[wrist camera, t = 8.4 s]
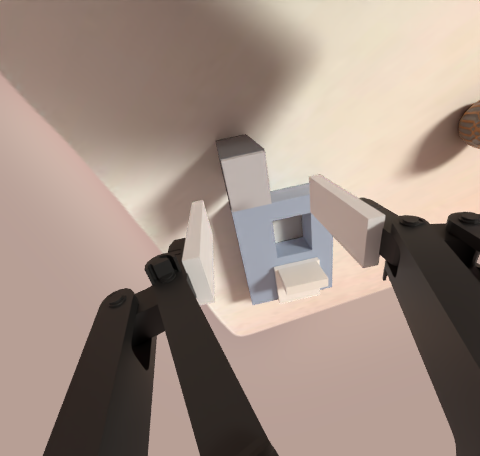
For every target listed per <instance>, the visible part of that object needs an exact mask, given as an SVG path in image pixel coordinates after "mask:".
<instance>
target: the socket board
mask: <svg viewBox="0 0 480 456" xmlns="http://www.w3.org/2000/svg"><path fill="white" fill-rule="evenodd" d="M270 194H271V202H272V204H268V205H263V206H259V207H254V208H250V209H245V210H241V211H236V212H232V216H233V220H234V225H235V229H236V233H237V238H238V242H239V247H240V251H241V256H242V260H243V264H244V269H245V273H246V278H247V282H248V287H249V291H250V295H251V300H252V304H253V305H255V304H260V303H264V302H268V301H273V300H277V299H278V293H277V286H276V279H275V272H274V267H276V266H280V265H285V264H289V263H293V262H298V261H302V260H307V259H311V258H315V257H318V259H319V260H320V267H321V268H322V270H323V271H324V273H325V274H326V276H327V277H328V286H327V287H323V288H320V290H321V289H325V288H330V287H332V259H333V236H332V235H331V234H330V232H329V231H328V230H327V229H326V228H325V227H324V226H323V225H322V224H321V223H320V222H319V221H318V220H317V219H316V218H315V217H314V215H313V214H312V213H311V212H310V189H309V183H307V184H302V185H298V186H293V187H289V188H284V189H280V190H275V191H271V192H270ZM231 211H232V210H231ZM298 215H302V232H303V237H300V238H296V239H291V240H287V241H282V242H278V243H275V237H274V229H273V221H275V220H280V219H284V218H289V217H293V216H298Z"/></svg>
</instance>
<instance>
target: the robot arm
mask: <svg viewBox="0 0 480 456" xmlns="http://www.w3.org/2000/svg"><path fill="white" fill-rule="evenodd" d="M309 189H310V212H311V213H312V214H313V215H314V217H315V218H316V219H317V220H318V221H319V222H320V223H321V224H322V225H323V226H324V227H325V228H326V229H327V230H328V231H329V232H330V234H331V235H332V236H333V237H334V238H335V239H336V240H337V241H338V242H339V243H340V244H341V245H342V246H343V247H344V248H345V249H346V251H347V252H348V253H349V254H350V255H351V256H352V257H353V258H354V259H355V260H356V261H357V262H358V263H359V264H360V265H361V266H362V268H366V267H371V266H375V265H378V263H379V256H380V255H381V256H382V257H383V258H384V259H385V260H386V261H385V267H384V273H383V280H386V276H387V275H388V277H389V281H390V282H391V284H392V286H393V289H394V291H395V293H396V296H397V298H398V301H399V303H400V306H401V308H402V311H403V313H404V315H405V318H406V320H407V323H408V325H409V328H410V330H411V333H412V335H413V338H414V340H415V342H416V345H417V347H418V350H419V352H420V355H421V357H422V359H423V362H424V364H425V367H426V369H427V372H428V374H429V376H430V379H431V381H432V384H433V386H434V389H435V391H436V394H437V396H438V398H439V401H440V403H441V405H442V408H443V410H444V413H445V415H446V418H447V420H448V423H449V425H450V428H451V430H452V433H453V435H454V439H455V443H456V456H480V265H479V264H478V263H476V262H477V260H478V257H479V255H480V214H475V213H472V212H459V213H453V214H451V215H449V216H448V220H447V223H446V224H429V222H427V221H426V220H425V219H423V218H420V217H416V216H408V215H404V216H398V215H396V214H395V213H393V212H391V211H389V210H388V209H386V208H383V206H381V205H378V203H376V202H374V201H372V200H370V199H366V198H357V197H356V196H354V195H353V194H351V193H349V192H348V191H346V190H345V189H343V188H341V187H340V186H338V185H337V184H335V183H333V182H332V181H330V180H329V179H327V178H325V177H324V176H322V175H321V174H318V175H313V176H309ZM145 271H146V273H147V275H148V277H149V279H150V281H151V283H152V286H151V287H149V288H147V289H145V290H143V291H141V292H138V293H136V294H134V292H133V291H132V290H131V289H127V288H125V289H120V290H118V291H115V292H113V293H112V294H110V295H109V296H107V297H106V298H105V299H104V300H103V302H102V303H101V305H100V307H99V310H98V312H97V315H96V318H95V320H94V323H93V326H92V328H91V331H90V333H89V336H88V338H87V341H86V344H85V346H84V349H83V352H82V354H81V357H80V359H79V362H78V365H77V367H76V370H75V373H74V375H73V378H72V381H71V383H70V386H69V389H68V391H67V393H66V396H65V399H64V401H63V404H62V407H61V409H60V412H59V414H58V417H57V420H56V422H55V425H54V428H53V430H52V433H51V436H50V438H49V441H48V443H47V446H46V448H45V451H44V454H43V456H148V444H149V431H150V417H151V405H152V392H153V378H154V366H155V353H156V339H157V335H158V334H160V333H162V332H164V331H165V332H166V336H167V339H168V342H169V346H170V350H171V353H172V357H173V360H174V364H175V368H176V371H177V375H178V378H179V382H180V385H181V389H182V393H183V396H184V399H185V403H186V407H187V410H188V414H189V417H190V421H191V424H192V428H193V432H194V435H195V439H196V442H197V446H198V449H199V453H200V456H279V455H278V454H277V452H276V450H275V449H274V447H273V446H272V445H271V443H270V441H269V440H268V438H267V436H266V434H265V432H264V430H263V428H262V426H261V424H260V422H259V421H258V418H257V417H256V415H255V413H254V411H253V409H252V407H251V405H250V403H249V401H248V399H247V397H246V395H245V393H244V391H243V389H242V387H241V385H240V383H239V381H238V379H237V378H236V376H235V374H234V372H233V370H232V368H231V366H230V364H229V362H228V360H227V358H226V356H225V354H224V352H223V350H222V348H221V346H220V344H219V343H218V341H217V339H216V337H215V335H214V333H213V331H212V329H211V327H210V325H209V323H208V321H207V319H206V317H205V315H204V313H203V311H202V310H201V307H200V305H204V304H208V303H213V302H215V292H214V258H213V233H212V229H211V226H210V223H209V219H208V216H207V212H206V209H205V205H204V202H203V200H200V201H196V202H192V205H191V211H190V216H189V222H188V228H187V234H186V238H182V239H178V240H174V241H173V242H172V244H171V245H170V246H169V249H168V253H164V254H161V255H158V256H156V257H154V258H152V259H151V260H150V261H148V262H147V264H146V265H145ZM196 298H197V299H196Z"/></svg>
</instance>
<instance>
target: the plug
mask: <svg viewBox="0 0 480 456" xmlns="http://www.w3.org/2000/svg"><path fill="white" fill-rule="evenodd" d="M216 145H217V150H218V155H219V160H220V164H221V169H222V173H223V177H224V182H225V186H226V191H227V195H228V200H229V204H230V208H231V210H232V212H236V211H241V210H245V209H250V208H254V207H259V206H263V205H268V204H272V202H271V194H270V186H269V179H268V171H267V163H266V155H265V151H264V148H262V147H261V146H260V145H259V144H257V143H256V142H255V141H254V140H252V139H251V138H250V137H249V136H247V135H246V134H245V135H240V136H236V137H231V138H227V139H222V140H217V141H216Z"/></svg>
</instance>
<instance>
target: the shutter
mask: <svg viewBox="0 0 480 456" xmlns="http://www.w3.org/2000/svg"><path fill="white" fill-rule="evenodd" d="M274 272H275V279H276V286H277V293H278V300H279V303H280V304H283V303H287V302H291V301H296V300H300V299H304V298H309V297H313V296H318V295H320V288H323V287H327V286H328V277H327V276H326V274H325V273H324V271H323V270H322V268H321V267H320V260H319V259H318V257H315V258H311V259H307V260H302V261H298V262H293V263H289V264H285V265H280V266H276V267H274Z"/></svg>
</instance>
